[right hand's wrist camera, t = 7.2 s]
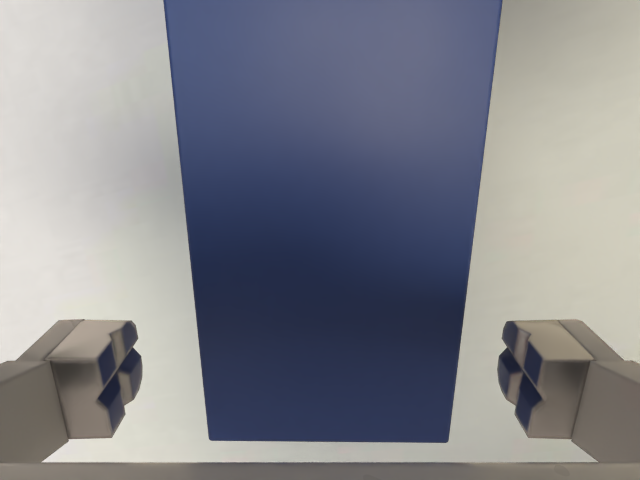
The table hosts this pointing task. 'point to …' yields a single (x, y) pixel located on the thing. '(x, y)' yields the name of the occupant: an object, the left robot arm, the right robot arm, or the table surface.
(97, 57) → the table surface
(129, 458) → the table surface
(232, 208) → the box
